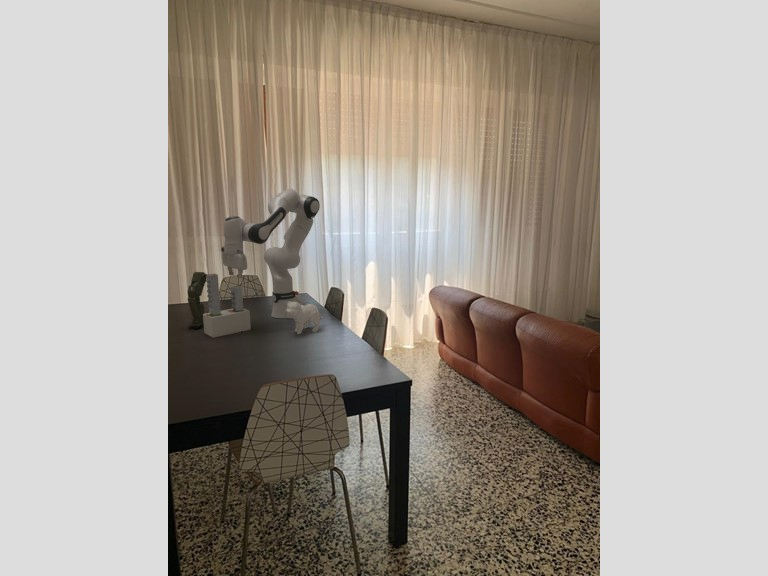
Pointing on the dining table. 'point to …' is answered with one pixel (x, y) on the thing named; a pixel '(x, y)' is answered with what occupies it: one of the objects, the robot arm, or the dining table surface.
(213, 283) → the column
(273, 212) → the robot arm
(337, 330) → the dining table surface
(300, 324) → the white animal figurine
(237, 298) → the column
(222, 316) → the frame
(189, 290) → the mechanical leg
